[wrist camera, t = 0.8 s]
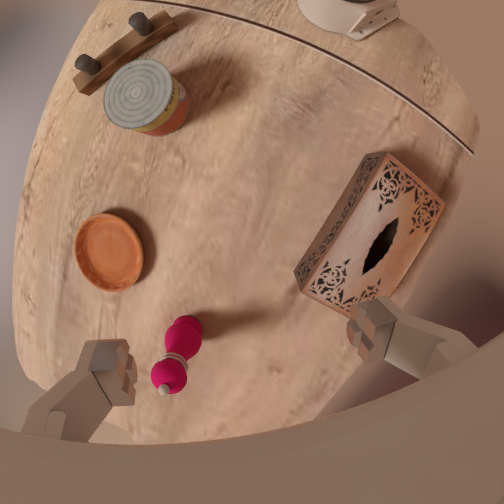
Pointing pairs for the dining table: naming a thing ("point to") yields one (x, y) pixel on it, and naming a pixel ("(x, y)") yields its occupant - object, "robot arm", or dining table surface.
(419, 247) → the tissue box cover
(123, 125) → the canned food
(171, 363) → the pepper mill
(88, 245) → the saucer
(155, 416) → the dining table surface
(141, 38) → the bench stop
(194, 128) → the dining table surface
